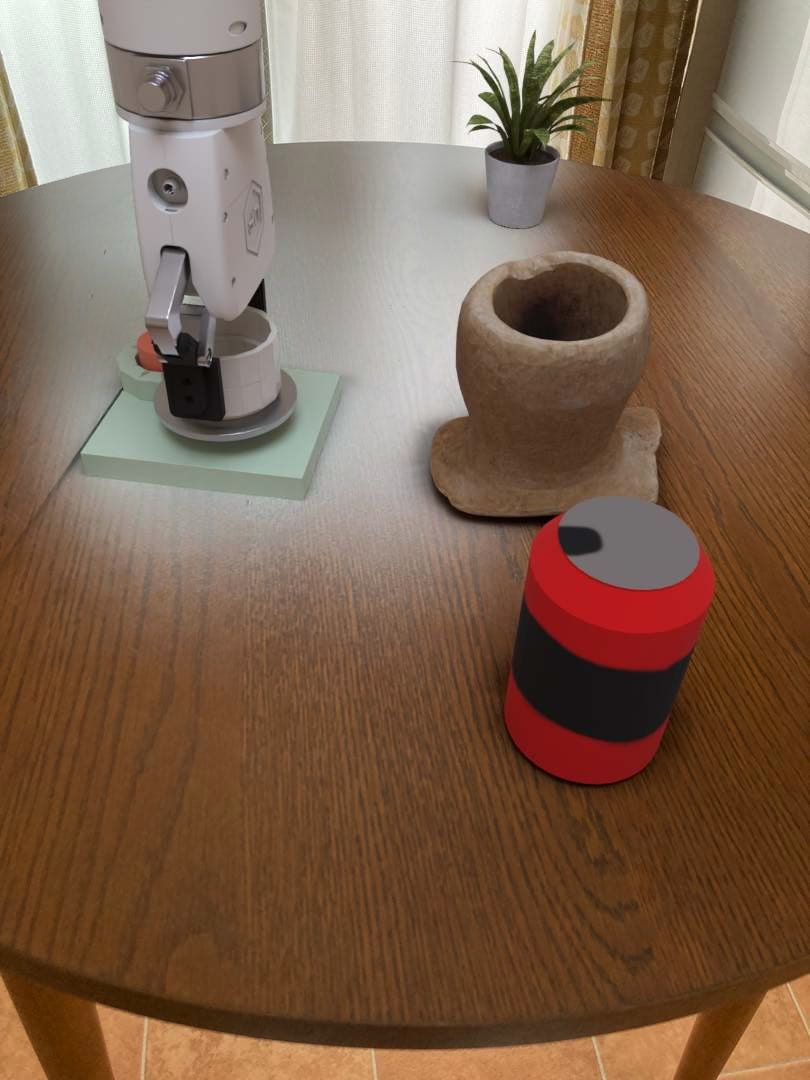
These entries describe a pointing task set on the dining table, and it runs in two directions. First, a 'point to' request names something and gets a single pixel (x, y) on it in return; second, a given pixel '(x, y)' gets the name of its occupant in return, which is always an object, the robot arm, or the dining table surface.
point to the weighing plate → (230, 428)
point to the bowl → (245, 360)
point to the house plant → (526, 136)
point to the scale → (224, 466)
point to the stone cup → (549, 390)
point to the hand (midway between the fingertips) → (222, 372)
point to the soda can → (605, 637)
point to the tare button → (148, 354)
